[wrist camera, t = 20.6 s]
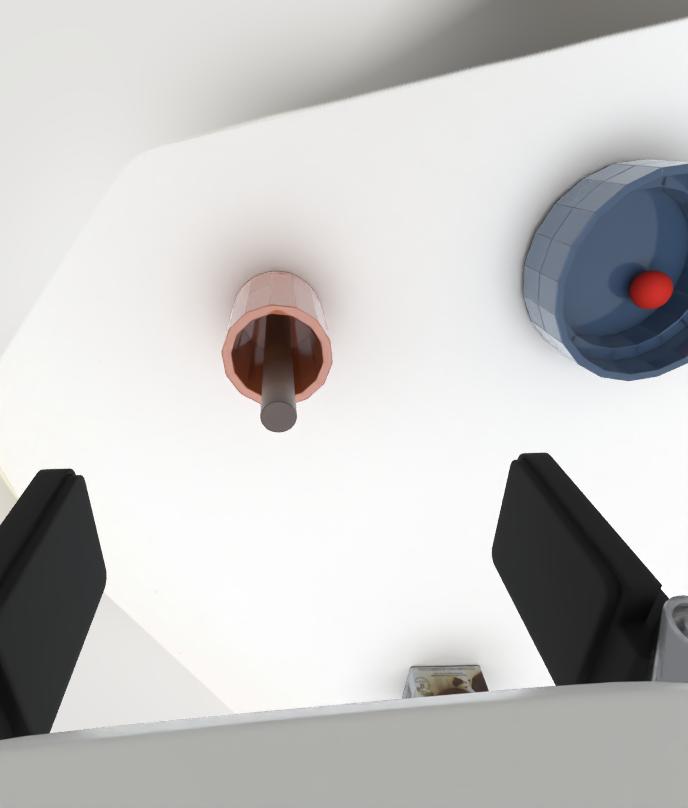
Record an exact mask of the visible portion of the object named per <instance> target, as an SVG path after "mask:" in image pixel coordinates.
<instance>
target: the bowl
mask: <svg viewBox="0 0 688 808" xmlns="http://www.w3.org/2000/svg"><path fill="white" fill-rule="evenodd" d="M653 270H655V271H661V272H663V273H665V274H666V275H668V276H669V277H670V279H671V280H672V283H673V293H672V295H671V297H670V299H669V300H668V301H667V302H666V303H665V304H664V305H662V306H660V307H658V308H655V309H643V308H640V307H638V306H636V305H635V304H634V303H633V302H632V300H631V298H630V295H629V288H630V285H631V283H632V281H633V280H634V279H635V278H636V277H637V276H638V275H640V274H641V273H644V272H647V271H653ZM523 294H524V299H525V303H526V306H527V309H528V313H529V316H530V320H531V322H532V323H533V324H534V325H535V327H536V328H537V329H538V331H539V332H540V333H541V334H542V336H543V337H544V338H545V340H547V341H548V342H549V343H551V344H552V345H553V346H555V347H556V348H557V349H559V350H560V351H561V352H563V353H564V354H565V355H567V356H568V357H569V358H571V359H572V360H573V361H575V362H576V363H577V364H578V365H580V366H582V367H584V368H586V369H587V370H589V371H591V372H593V373H594V374H596V375H598V376H600V377H604V378H610V379H617V380H624V381H633V380H639V379H645V378H651V377H657V376H660V375H662V374H664V373H667V372H669V371H671V370H673V369H676V368H678V367H680V366H682V365H685V364H687V363H688V162H685V161H669V160H652V159H642V160H635V161H628V162H621V163H614V164H612V165H610V166H608V167H606V168H604V169H602V170H600V171H598V172H596V173H594V174H592V175H590V176H588V177H586V178H584V179H582V180H581V181H579V182H578V183H577V184H576V185H575V186H574V187H573V188H572V189H571V190H569V191H568V192H567V193H566V194H565V195H564V196H563V197H562V198H560V199H559V200H558V201H557V202H556V204H554V206H553V207H552V209H551V210H550V212H549V213H548V215H547V216H546V218H545V219H544V221H543V222H542V224H541V225H540V227H539V228H538V230H537V231H536V233H535V235H534V238H533V241H532V244H531V247H530V250H529V252H528V255H527V258H526V261H525V266H524V288H523Z"/></svg>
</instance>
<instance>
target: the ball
mask: <svg viewBox="0 0 688 808" xmlns="http://www.w3.org/2000/svg"><path fill="white" fill-rule="evenodd" d="M672 293H673V283H672V280H671V279H670V277H669V276H668V275H666V274H665V273H663V272H661V271H655V270H653V271H647V272H644V273H641V274H640V275H638V276H637V277H636V278H635V279H634V280H633V281H632V283H631V285H630V288H629V295H630V298H631V300H632V302H633V303H634V304H635V305H636V306H638V307H640V308H643V309H655V308H658V307H660V306H662V305H664V304H665V303H666V302H667V301H668V300H669V299H670V297H671V295H672Z"/></svg>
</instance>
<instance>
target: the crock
mask: <svg viewBox="0 0 688 808" xmlns="http://www.w3.org/2000/svg"><path fill="white" fill-rule="evenodd" d="M270 314H278V315H287V316H289V317H290V331H291V345H292V358H293V372H294V386H295V400H296V403H297V402H300V401H303V400H306V399H308V398H309V397H310V396H311V395H312V394H313V393H314V392H315V391H317V390H318V389H319V388H320V387H321V386H322V385H323V384H324V383H325V380H326V378H327V375H328V373H329V370H330V368H331V365H332V352H331V342H330V338H329V334H328V330H327V326H326V322H325V319H324V315H323V311H322V307H321V304H320V301H319V300H318V298H317V296H316V294H315V292H314V291H313V289H312V288H311V287H310V286H309V284H307V283H306V282H305V281H304V280H302V279H301V278H300V277H298V276H296V275H293V274H291V273H287V272H282V271H270V272H265V273H262V274H259V275H257V276H255V277H253V278H252V279H250V280H249V281H248V282H247V283H245V284H244V286H243V287H242V288H241V289H240V291H239V292H238V294H237V296H236V299H235V303H234V306H233V309H232V313H231V317H230V321H229V325H228V329H227V333H226V336H225V340H224V344H223V348H222V358H223V363H224V368H225V373H226V375H227V377H228V378H229V380H230V381H231V382H232V383H233V385H234V386H235V387H236V389H237V390H238V391H239V392H240V393H241V394H242V395H244V396H246V397H248V398H250V399H252V400H254V401H256V402H258V403H260V404H261V398H262V381H263V363H264V345H265V328H266V316H267V315H270Z"/></svg>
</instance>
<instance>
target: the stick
mask: <svg viewBox="0 0 688 808" xmlns="http://www.w3.org/2000/svg"><path fill="white" fill-rule="evenodd" d="M296 418H297V413H296V400H295V386H294V372H293V358H292V345H291V331H290V317H289V316H287V315H278V314H270V315H267V316H266V328H265V345H264V363H263V381H262V398H261V422H262V424H263V425H264V426H265V427H266V428H267V429H268V430H270V431H273V432H284V431H287V430H289V429H290V428H291V427H292V426H293V425H294V424H295V422H296Z"/></svg>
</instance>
